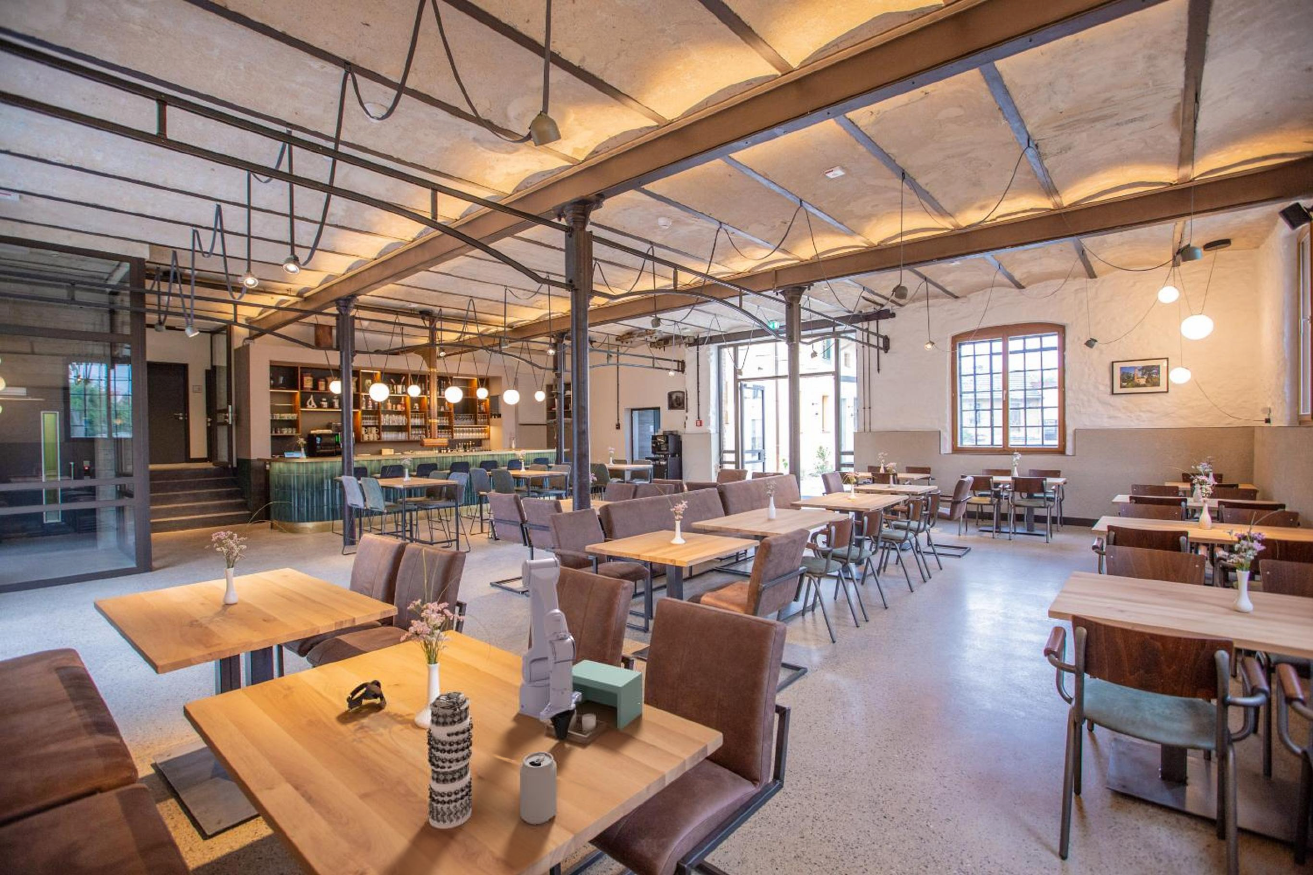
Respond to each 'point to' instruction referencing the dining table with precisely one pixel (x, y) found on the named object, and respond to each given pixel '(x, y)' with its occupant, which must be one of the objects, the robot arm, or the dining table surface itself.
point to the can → (538, 788)
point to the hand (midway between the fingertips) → (561, 738)
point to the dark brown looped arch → (366, 694)
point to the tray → (580, 731)
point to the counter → (609, 688)
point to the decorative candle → (450, 760)
